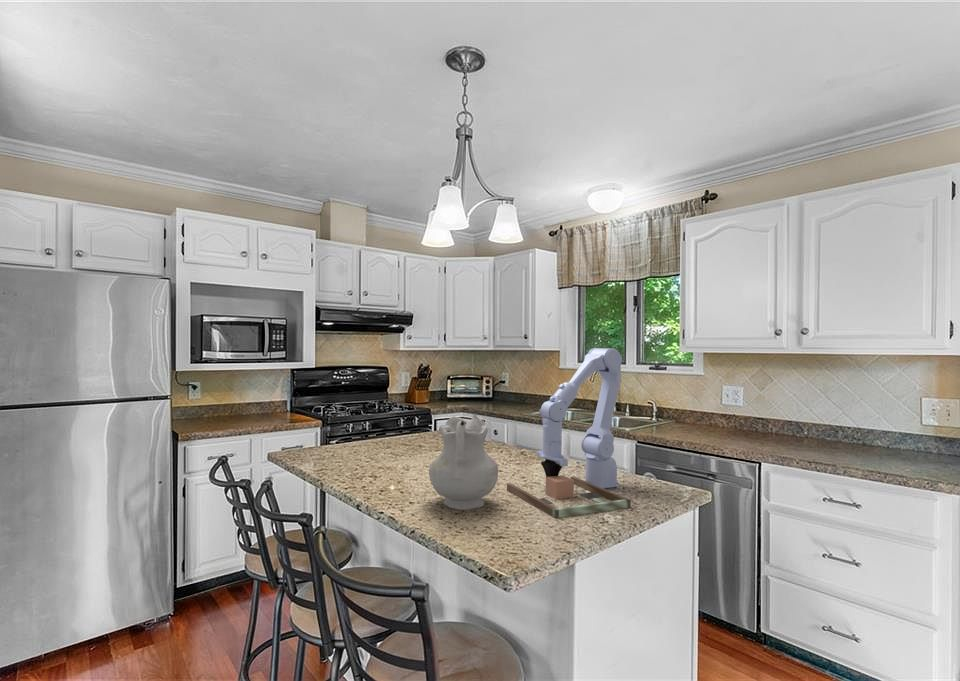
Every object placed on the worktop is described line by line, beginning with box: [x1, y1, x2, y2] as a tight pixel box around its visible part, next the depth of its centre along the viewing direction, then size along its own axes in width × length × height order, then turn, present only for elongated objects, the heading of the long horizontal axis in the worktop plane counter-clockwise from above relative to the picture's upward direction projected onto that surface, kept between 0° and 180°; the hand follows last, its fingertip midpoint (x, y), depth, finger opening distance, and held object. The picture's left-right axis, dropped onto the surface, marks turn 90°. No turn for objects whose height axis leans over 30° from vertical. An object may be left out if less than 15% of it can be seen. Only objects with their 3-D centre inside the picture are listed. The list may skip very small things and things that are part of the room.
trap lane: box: [506, 476, 632, 519], centre depth 153 cm, size 24×28×2 cm
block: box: [545, 474, 575, 500], centre depth 155 cm, size 6×6×5 cm
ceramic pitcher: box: [428, 414, 499, 511], centre depth 145 cm, size 22×20×25 cm
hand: (551, 485), depth 160 cm, fingers closed
